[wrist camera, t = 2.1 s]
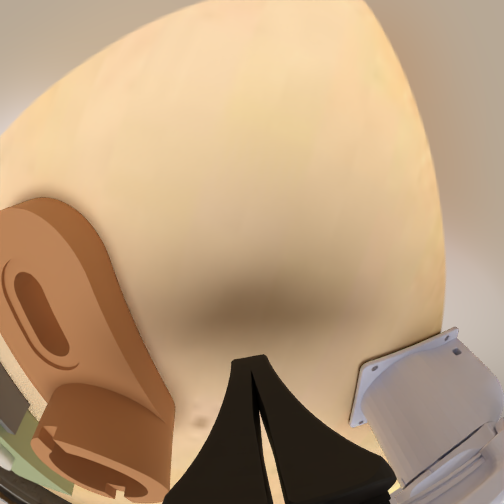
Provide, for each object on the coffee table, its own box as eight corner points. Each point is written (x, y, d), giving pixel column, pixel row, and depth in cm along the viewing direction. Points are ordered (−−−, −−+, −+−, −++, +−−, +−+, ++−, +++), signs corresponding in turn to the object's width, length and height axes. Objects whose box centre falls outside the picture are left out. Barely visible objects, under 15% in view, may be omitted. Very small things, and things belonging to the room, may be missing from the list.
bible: (3, 452, 20) (-11, 489, 11) (95, 513, 30) (91, 544, 20) (-33, 438, 20) (-45, 464, 11) (40, 497, 29) (35, 522, 20)
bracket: (191, 427, 17) (190, 506, 11) (100, 427, 17) (84, 493, 10) (88, 175, 11) (-13, 203, 4) (-11, 220, 10) (-88, 261, 4)
